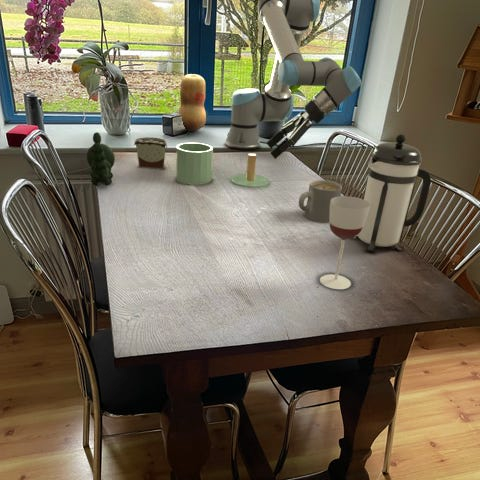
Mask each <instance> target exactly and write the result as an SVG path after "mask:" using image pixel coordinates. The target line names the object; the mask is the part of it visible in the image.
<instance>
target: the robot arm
mask: <svg viewBox="0 0 480 480" xmlns="http://www.w3.org/2000/svg"><path fill="white" fill-rule="evenodd" d="M320 11H321V0H258V2H257V14H258V18H259V20H260V22H261V23H262V25H264V26H265V27H266V30H267V33H268V35H269V38H270V40H271V43H272V46H273V48H274V50H275V53H276V55H275V59H274V64H273V68H272V73H271V78H270V81H269V83H268V84H267V85H265V88H264V92H260V89H259V88H251V87H250V88H241V89H237V90H235V91H234V92H233V93H232V98H231V115H230V119H231V120H230V128H229V131H228V132H227V135H226V136H227V137H226V140H225V146H226V147H228V148H231V149H235V150H242V151H243V150H244V151H250V150H251V151H252V150H257V149H259V148H260V146H261V145H260V144H265V145H267V146H268V147H269V148H270V149H271V151H270V152H269V154H270V155H271V156H272V157H273V159H274V160H276V159H278V157H280V156H281V155H282V154H283V153H284V152H286V151H287V149H289V148H303V147H309V146H320V145H327V144H326V143H327V142H315V143H308V144H307V143H306V144H300V145H296V144H297V143H298V142H299V140H301V138H302V137H303V136H304V135H305V134H306V132H307V131H308V130H309V129H310V128H311V127H313V125H314V124H313V122H314V123H315V125H318V124H319V123H320V122H321V121H322V120H324V119H325V116H328V115H330V113H334V112H335V109H336V108H337V107H338V106H339V105H340V104H342V103H343V102H344V101H345V100H347V98H349V97H350V96H351V95H352V94H354V93H355V91H356V90H357V89H358V88H360V86H361V85H362V80H361V78H360V76H359V75H358V73H357V71H356V70H355V69H354V68H353V67H352V66H351V65H347V66H346V67H344V68H342V67H341V66H340V65H339V64H338V62H337V61H335V60H334V59H332V58H330V57H322V58H320V59H319V60H318V61H315V60H304V57H303V55H302V52H301V50H300V48H301V44H302V40H303V36H304V33H305V32H306V31H308V30H309V28H310V25H311V23H314V22H316V21H317V19H318V18H319V14H320ZM294 86H296V87H297V86H298V87H299V86H300V87H301V86H303V87H306V86H309V87H323V88H322V89H320V90H319V91H318V92H317V93H316V94H315V95H314V96H313V97H312V99H309V100H308V102H307V101H306V103H305V104H304V105H303V109H304V111H305V112H304V111H303V110H302V111H300V112H299V113H298V114H296V115H295V116H294V117H293V118H291V119H290V120H288V119H289V118H290V117H291V116H292V113H293V110H294V104H295V99H294V97H293V95H292V91H291V89H290V87H294ZM287 120H288V121H287ZM285 121H287V122H286V123H284V124H283V125H281V126H280V130H279V131H278V132H276V133H275V134H274V135H273V136H272V137H271V138H270V139H269V140H267V141H261V140H260V138H259V132H258V122H276V123H278V122H285ZM288 134H289V135H288ZM282 140H283V141H282ZM330 143H331V144H330V145H335V146H344V147H345V146H346V147H352V146H361V147H362V148H366V146H365V145H364V144H363V145H364V146H363V145H362V143H359V142H357V143H344V144H345V145H342V144H343V143H339V142H330ZM350 144H351V146H349V145H350ZM274 147H275V148H274Z"/></svg>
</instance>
